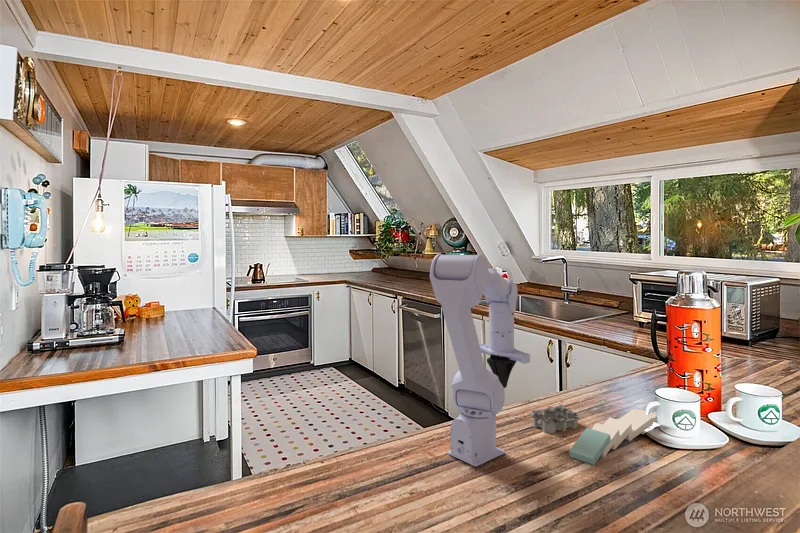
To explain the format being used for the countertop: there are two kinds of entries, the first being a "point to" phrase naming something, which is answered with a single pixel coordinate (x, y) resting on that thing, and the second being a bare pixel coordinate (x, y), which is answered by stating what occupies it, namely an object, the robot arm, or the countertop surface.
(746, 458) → the countertop surface
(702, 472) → the countertop surface
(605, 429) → the domino
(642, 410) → the domino
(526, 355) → the robot arm
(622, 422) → the domino
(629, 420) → the domino
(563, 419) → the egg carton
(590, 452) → the domino
